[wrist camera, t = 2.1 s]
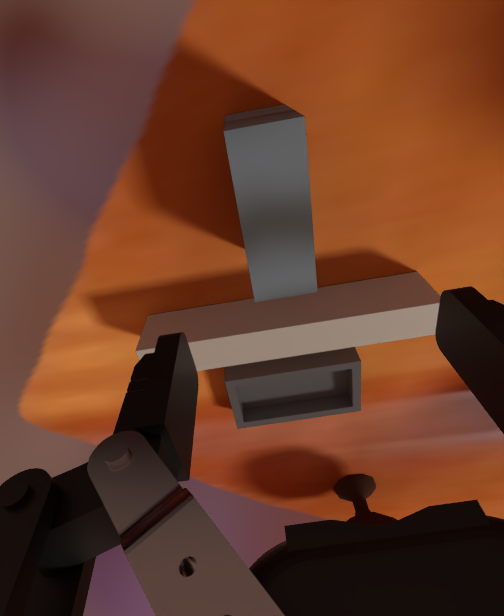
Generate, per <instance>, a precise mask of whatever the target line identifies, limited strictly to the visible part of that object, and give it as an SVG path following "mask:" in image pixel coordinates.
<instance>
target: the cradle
mask: <svg viewBox="0 0 504 616" xmlns="http://www.w3.org/2000/svg"><path fill="white" fill-rule="evenodd" d="M225 385H226V389H227V392H228V396H229V399H230V403H231V407H232V410H233V414H234V418H235V421H236V425H237V428H238V429H240V428H246V427H253V426H260V425H267V424H274V423H280V422H287V421H294V420H301V419H308V418H315V417H321V416H328V415H335V414H342V413H349V412H355V411H361V360H360V358H359V356H358V354H357V351H356V349H355V347H350V348H344V349H337V350H331V351H324V352H318V353H311V354H305V355H298V356H292V357H285V358H279V359H273V360H266V361H260V362H253V363H247V364H240V365H234V366H227V367H225Z"/></svg>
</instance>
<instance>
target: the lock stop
mask: <svg viewBox="0 0 504 616" xmlns="http://www.w3.org/2000/svg"><path fill="white" fill-rule="evenodd" d="M223 132H224V137H225V143H226V148H227V153H228V159H229V164H230V170H231V175H232V181H233V186H234V191H235V197H236V202H237V208H238V213H239V219H240V224H241V229H242V235H243V240H244V246H245V251H246V257H247V262H248V267H249V273H250V278H251V284H252V289H253V295H254V300H255V302H259V301H265V300H272V299H278V298H284V297H290V296H296V295H302V294H309V293H315V292H317V279H316V265H315V251H314V238H313V224H312V210H311V196H310V182H309V168H308V154H307V141H306V127H305V116H304V115H302V114H300V113H298V112H297V111H295V110H293V109H292V108H290V107H288V106H287V105H285V104H283V105H278V106H273V107H267V108H262V109H257V110H251V111H246V112H240V113H235V114H230V115H225V123H224V130H223Z"/></svg>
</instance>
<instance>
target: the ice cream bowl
mask: <svg viewBox="0 0 504 616" xmlns="http://www.w3.org/2000/svg"><path fill="white" fill-rule="evenodd" d="M375 488H376V484H375V482H374V479H373V477H370V476H367V475H364V474H357V475H349V476H347V477H345V478H343V479H341V480H339V481H338V483H337V484H336V486H335V488H334V489H335V491H336V493H337V494H338V496H339V498H341V499H344V500H347V501H351V502H353V505H354V508H355V511H356V512H355V516H354V517H352V518H350V519H349V520H348V521H346V522H352V523H360V524H367V525H375V526H386V525H389V524H391V523H394V522H396V521H398V520H397V519H395V518H392V517H389V516H386V515H382V514H379V513H376V512H371V511H370V510H369V509H368V505H367V502H366V498H368V497H369V496H370V495H371V494H372V493H373V491H374V490H375Z"/></svg>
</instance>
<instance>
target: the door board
mask: <svg viewBox="0 0 504 616" xmlns="http://www.w3.org/2000/svg"><path fill="white" fill-rule="evenodd" d="M440 297H441V296H440V295H439V294H438V293H437V292H436V291H435V290H434V289H433V288H432V287H431V286H430V284H429V283H428V282H427V281H426V280H425V279H424V278H423V277H422V276H421V275H420V274H419V273H418V272H412V273H405V274H399V275H393V276H387V277H381V278H375V279H369V280H362V281H356V282H350V283H344V284H338V285H332V286H326V287H319V288H317V292H315V293H309V294H302V295H296V296H290V297H284V298H278V299H272V300H265V301H259V302H255V300H254V298H252V299H246V300H239V301H233V302H227V303H221V304H215V305H209V306H203V307H196V308H190V309H184V310H178V311H172V312H166V313H160V314H153V315H148V316H147V319H146V322H145V325H144V328H143V331H142V334H141V337H140V340H139V342H138V345H137V348H136V353H137V356H138V358H139V360H140V359H141V358H142V357H143V356H144V354H148V353H154V351H155V348H156V344H157V340H158V337H159V336H160V335H166V334H173V333H179V332H184V334H185V336H186V338H187V342H188V345H189V348H190V351H191V354H192V357H193V360H194V363H195V366H196V370H197V371H201V370H208V369H214V368H221V367H227V366H234V365H240V364H247V363H253V362H260V361H266V360H273V359H279V358H285V357H292V356H298V355H305V354H311V353H318V352H324V351H331V350H337V349H344V348H350V347H357V346H363V345H369V344H376V343H382V342H389V341H395V340H402V339H408V338H415V337H421V336H428V335H434V334H435V331H436V324H437V317H438V310H439V303H440Z"/></svg>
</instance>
